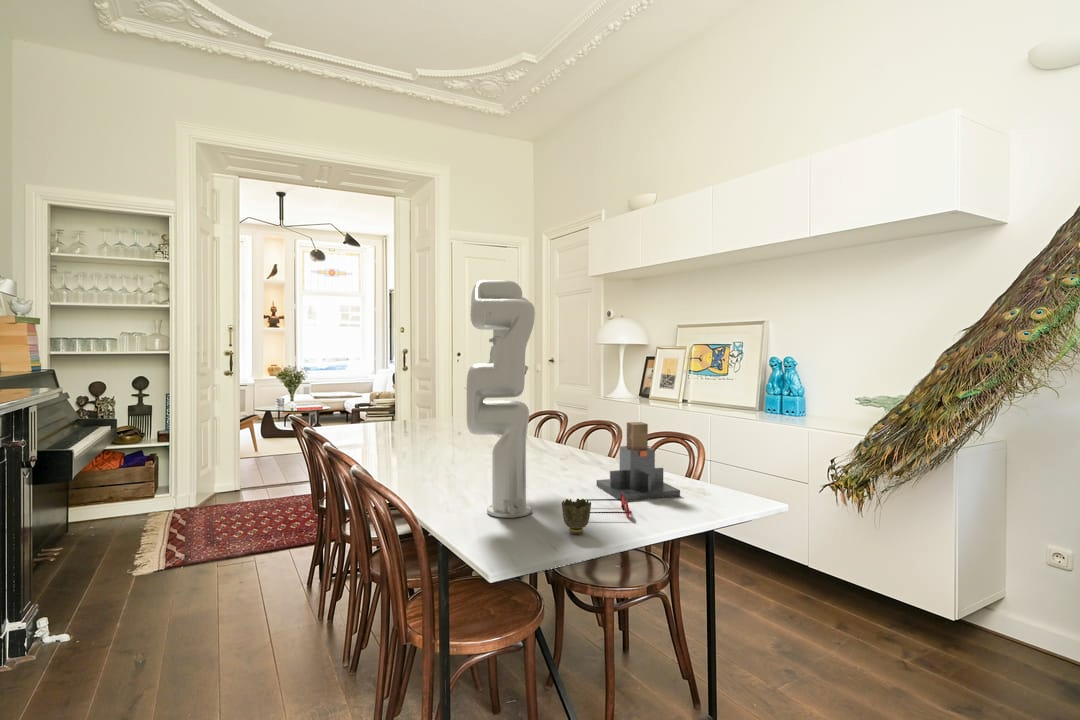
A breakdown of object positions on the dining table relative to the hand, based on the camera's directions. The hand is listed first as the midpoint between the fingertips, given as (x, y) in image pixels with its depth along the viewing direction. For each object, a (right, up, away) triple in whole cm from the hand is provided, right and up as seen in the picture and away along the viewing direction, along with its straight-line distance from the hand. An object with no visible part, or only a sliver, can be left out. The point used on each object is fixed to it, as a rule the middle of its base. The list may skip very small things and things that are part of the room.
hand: (504, 391), depth 209 cm
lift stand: (+44, -32, -15) cm, 56 cm away
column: (+44, -28, -15) cm, 54 cm away
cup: (+22, -33, -58) cm, 70 cm away
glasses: (+29, -33, -40) cm, 60 cm away
